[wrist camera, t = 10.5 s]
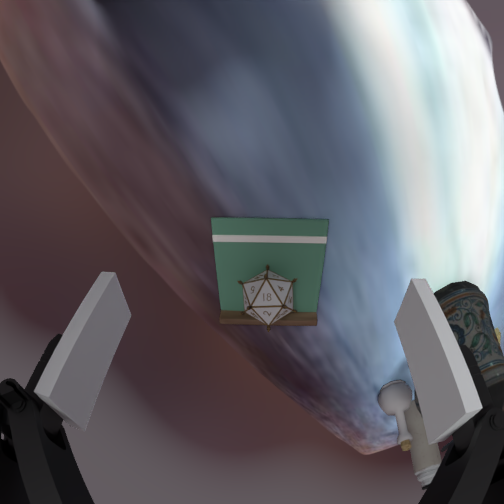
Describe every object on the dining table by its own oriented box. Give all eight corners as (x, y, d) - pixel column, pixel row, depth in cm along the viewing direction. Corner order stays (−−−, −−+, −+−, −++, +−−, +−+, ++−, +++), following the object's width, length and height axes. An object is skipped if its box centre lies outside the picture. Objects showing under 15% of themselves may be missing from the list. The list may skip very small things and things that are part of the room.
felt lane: (211, 217, 41) (210, 219, 40) (328, 219, 40) (329, 221, 39) (221, 308, 50) (220, 310, 49) (315, 310, 49) (316, 312, 48)
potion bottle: (382, 399, 66) (393, 458, 51) (372, 387, 62) (384, 452, 47) (412, 386, 63) (427, 445, 48) (405, 373, 59) (422, 438, 44)
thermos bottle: (431, 398, 67) (450, 479, 44) (412, 411, 71) (428, 489, 48) (415, 397, 66) (434, 484, 43) (396, 410, 70) (411, 493, 47)
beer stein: (490, 301, 46) (540, 394, 25) (425, 356, 56) (455, 451, 35) (461, 264, 42) (530, 376, 21) (385, 331, 51) (417, 450, 30)
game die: (275, 257, 48) (314, 270, 39) (278, 306, 49) (314, 328, 40) (223, 266, 44) (253, 283, 35) (228, 319, 46) (258, 346, 37)
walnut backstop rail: (221, 308, 50) (219, 318, 48) (315, 310, 49) (317, 320, 47) (222, 313, 51) (220, 323, 49) (315, 315, 50) (316, 325, 48)
